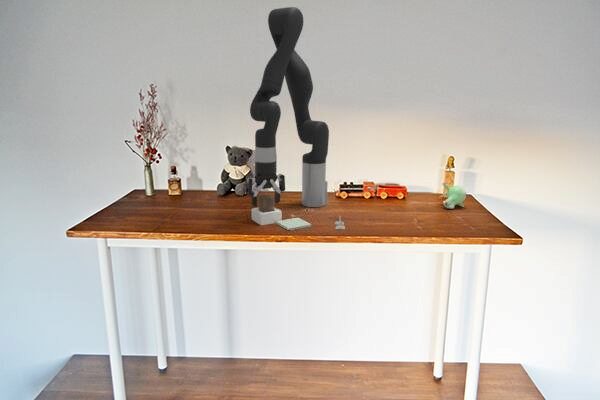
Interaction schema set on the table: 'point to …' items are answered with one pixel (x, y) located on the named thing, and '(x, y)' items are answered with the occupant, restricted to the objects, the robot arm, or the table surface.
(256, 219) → the pocket holder
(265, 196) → the walnut block
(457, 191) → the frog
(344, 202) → the table surface
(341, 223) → the grey eared piece
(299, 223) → the green mat
